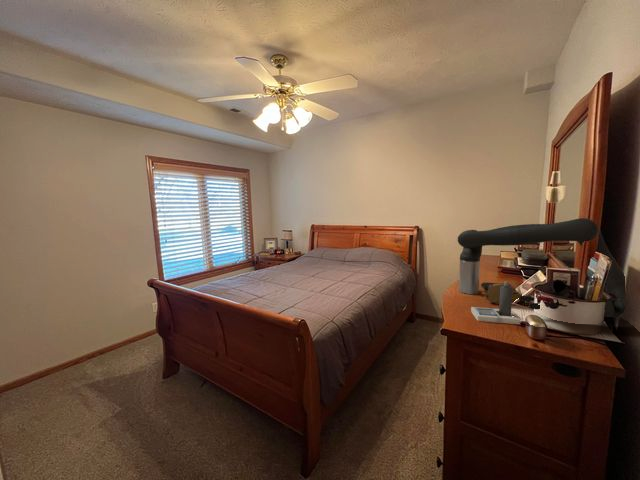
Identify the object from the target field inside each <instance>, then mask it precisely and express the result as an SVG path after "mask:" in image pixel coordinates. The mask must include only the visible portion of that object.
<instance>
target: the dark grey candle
mask: <svg viewBox="0 0 640 480" xmlns="http://www.w3.org/2000/svg"><path fill="white" fill-rule="evenodd" d="M509 284H510V282H509V281H505V280H504V286H501V287H500V302H499V304H498V305H499V307H498V309H499V315H500V316H511V310H512V304H513V303H512V287H509Z"/></svg>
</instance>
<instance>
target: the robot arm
mask: <svg viewBox="0 0 640 480" xmlns="http://www.w3.org/2000/svg"><path fill="white" fill-rule="evenodd" d="M590 219H591V218H585V217H584V218H581V217H580V218H575V219H571V220H570V219H569V220H564V221H559V222H554V223H527V224H514V225H508V226H503V227H502V226H501V227H498V228H493V229H488V230H476V229H469V230H464V231H462V232H460V234H459V235H458V236H457V243H458V244H459V246H461V247H462V252H461V253H460V254H459V279H458V291H459V292H460V293H463V294H467V295H477V294H479V291H480V288H479V287H480V266H481V262H480V261H481V256H482V253H483V252H482V251H483V247H485V246H503V247H504V246H528V245H534V244H541V243H545V242H577V243H578V244H579V245H580V247H582V243H583V242H584V241H589V240H591V239H593V238H595V237H596V236H597V234H598V232H599V239H598V247H597V252H599V253H602V254H604V255H606V256H608V257H609V258H610V259H611V260H612V266H611V269H610V273H609V276H608V279H607V281H606V285H605V289H604V291H605V292H606V293H608V294H610V295H614V296H615V297H616V298H610V299H611V300H609V301H607V302H606V306H605V314H604V317H609V318H610V317H611V318H618V317H619V315H621V314H622V313H623V312H624V310H625V308H626V300H625V276H626V275H625V276H624V274H625V273H624V271H623V270H622V268H621V267H620V265H619V263H618V262H617V261H616V259H615V257H614V256H613V255H612V254H611V252H610V250H609V248H608V245H606V242H605V239H604V236H603V235H602V231H601V230H600V231H599V228H598V226H597V224H596V223H595V222H596V221H595V222H593V221H594V220H593V219H591V220H590ZM592 220H593V221H592ZM534 299H535V298H534V293H530V294H529V295H523V296H519V300H520V301H521V302H528V303H529V304H528V308H529V309H530V310H539V309H540V305H538V303H534ZM618 299H619V300H618Z"/></svg>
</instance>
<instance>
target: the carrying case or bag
mask: <svg viewBox="0 0 640 480" xmlns="http://www.w3.org/2000/svg"><path fill="white" fill-rule="evenodd" d="M495 283H496V282H482V283H481V284H480V286H481V288H482V289H483V290H484V291H488V285H489V284H495ZM511 285H512V284H510V283H509V286H511Z"/></svg>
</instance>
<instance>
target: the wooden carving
mask: <svg viewBox="0 0 640 480" xmlns="http://www.w3.org/2000/svg"><path fill="white" fill-rule="evenodd" d="M494 283H495V284H489V285H488V291H486V290H481V294H482V295H484V298H485V300H487V301H489V302H491V303H493V304H495V305H499V302H500V287H501V286H504V283H503V282H494ZM510 285H511V286H509V287H512V304H514V303H513V302H514V301H515V300H516V299H518V298H519V296H522V295H523V294H522V293H520V292H518V291H515V289H516V288H515V286H514V285H512V284H510Z"/></svg>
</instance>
